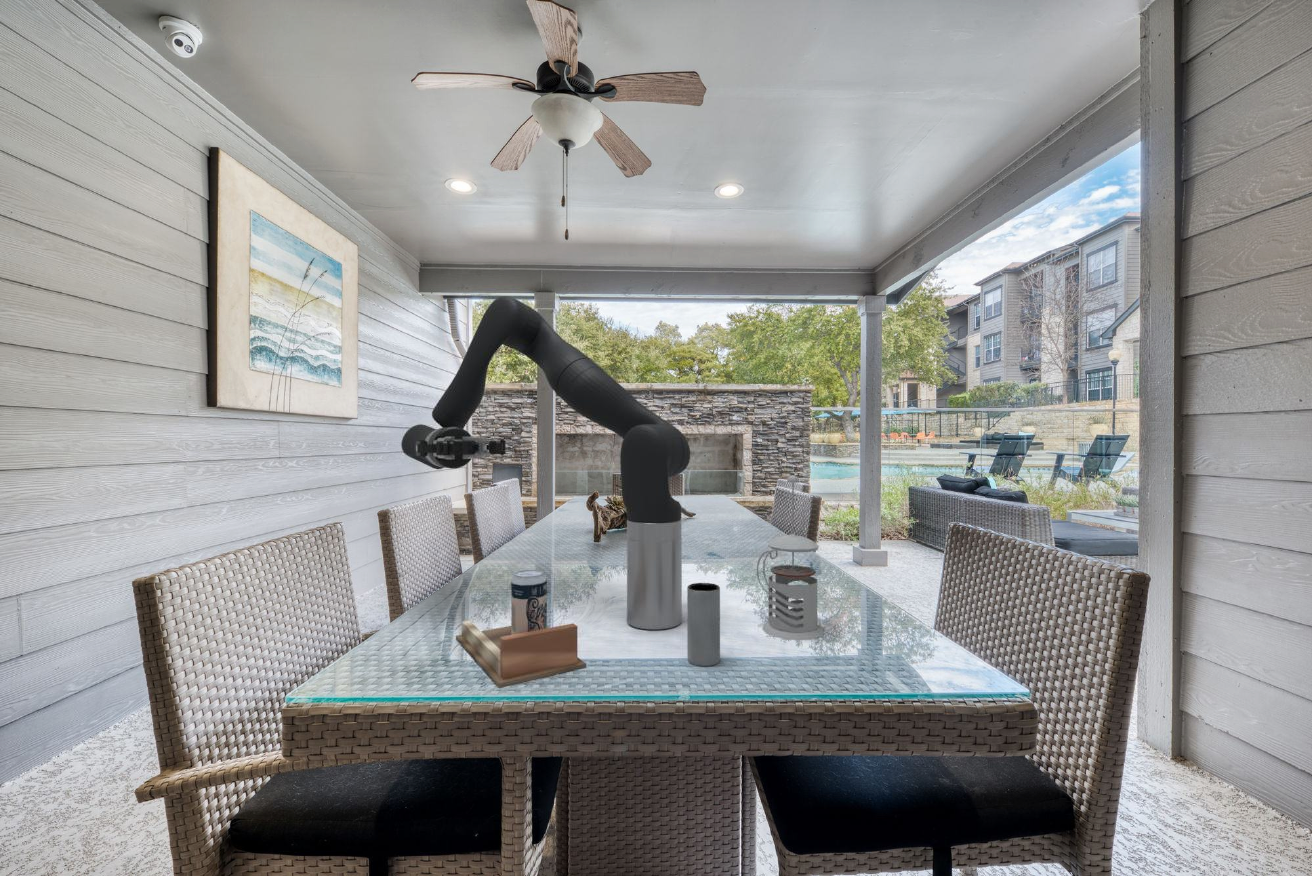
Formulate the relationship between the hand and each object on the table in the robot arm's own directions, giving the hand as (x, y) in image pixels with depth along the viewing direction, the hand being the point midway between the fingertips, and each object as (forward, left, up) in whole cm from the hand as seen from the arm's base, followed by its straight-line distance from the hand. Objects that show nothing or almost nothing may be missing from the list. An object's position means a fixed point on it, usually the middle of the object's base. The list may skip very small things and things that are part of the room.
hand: (472, 448), depth 95 cm
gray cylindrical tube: (-5, +38, -30) cm, 49 cm away
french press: (-24, +45, -30) cm, 59 cm away
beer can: (+7, +17, -29) cm, 35 cm away
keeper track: (+5, +13, -29) cm, 33 cm away
